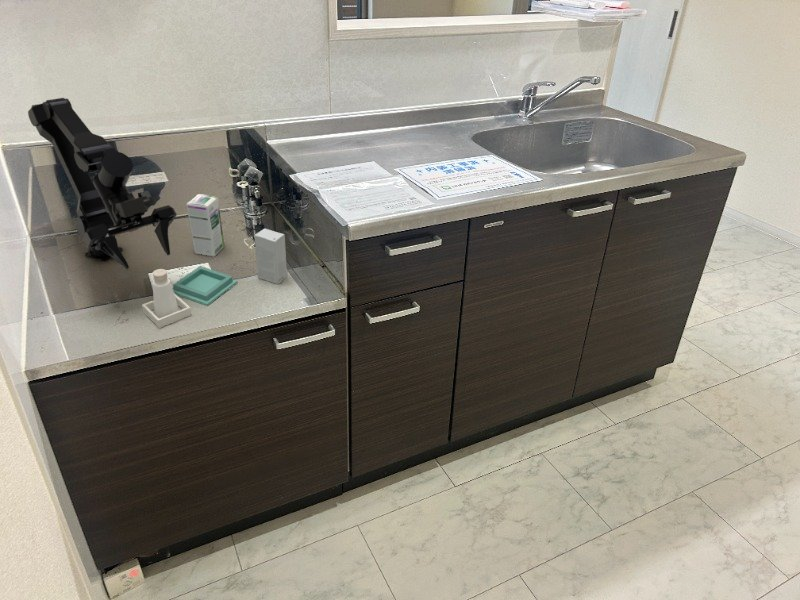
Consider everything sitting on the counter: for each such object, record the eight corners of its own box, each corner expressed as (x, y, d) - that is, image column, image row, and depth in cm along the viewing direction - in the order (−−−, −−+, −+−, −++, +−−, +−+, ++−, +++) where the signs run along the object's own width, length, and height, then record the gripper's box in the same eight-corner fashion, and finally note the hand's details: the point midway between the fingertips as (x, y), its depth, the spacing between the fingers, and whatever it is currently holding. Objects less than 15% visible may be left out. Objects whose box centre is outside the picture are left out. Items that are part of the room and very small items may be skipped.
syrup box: (215, 257, 154) (208, 206, 146) (193, 253, 155) (185, 202, 147) (224, 246, 159) (219, 196, 150) (203, 243, 159) (197, 192, 151)
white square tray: (143, 312, 134) (141, 304, 132) (175, 299, 138) (173, 292, 137) (159, 328, 129) (157, 320, 128) (191, 314, 134) (190, 307, 133)
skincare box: (287, 276, 149) (285, 234, 142) (277, 284, 146) (275, 241, 139) (267, 269, 151) (264, 227, 144) (257, 277, 148) (253, 234, 141)
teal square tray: (169, 292, 140) (168, 285, 139) (200, 270, 149) (199, 263, 148) (207, 306, 137) (206, 298, 136) (237, 282, 145) (236, 275, 144)
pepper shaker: (171, 303, 137) (163, 262, 131) (185, 313, 134) (178, 271, 128) (149, 313, 133) (140, 271, 127) (163, 324, 131) (155, 281, 124)
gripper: (75, 192, 118) (111, 263, 118) (165, 170, 129) (198, 235, 129) (69, 214, 127) (103, 280, 127) (154, 191, 138) (185, 252, 138)
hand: (148, 261), depth 130 cm, fingers open, 9 cm apart
